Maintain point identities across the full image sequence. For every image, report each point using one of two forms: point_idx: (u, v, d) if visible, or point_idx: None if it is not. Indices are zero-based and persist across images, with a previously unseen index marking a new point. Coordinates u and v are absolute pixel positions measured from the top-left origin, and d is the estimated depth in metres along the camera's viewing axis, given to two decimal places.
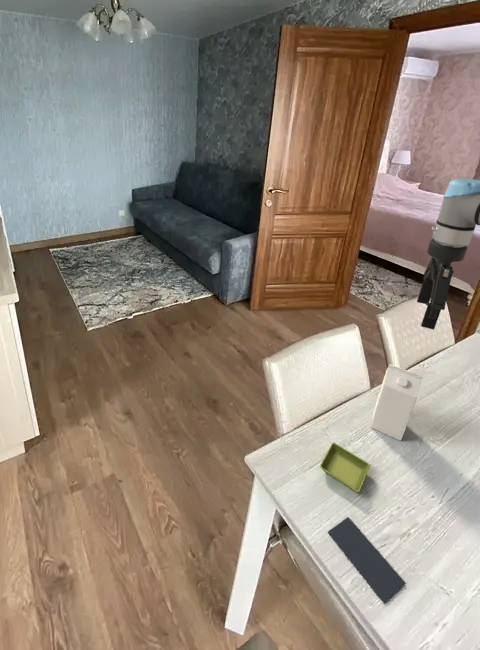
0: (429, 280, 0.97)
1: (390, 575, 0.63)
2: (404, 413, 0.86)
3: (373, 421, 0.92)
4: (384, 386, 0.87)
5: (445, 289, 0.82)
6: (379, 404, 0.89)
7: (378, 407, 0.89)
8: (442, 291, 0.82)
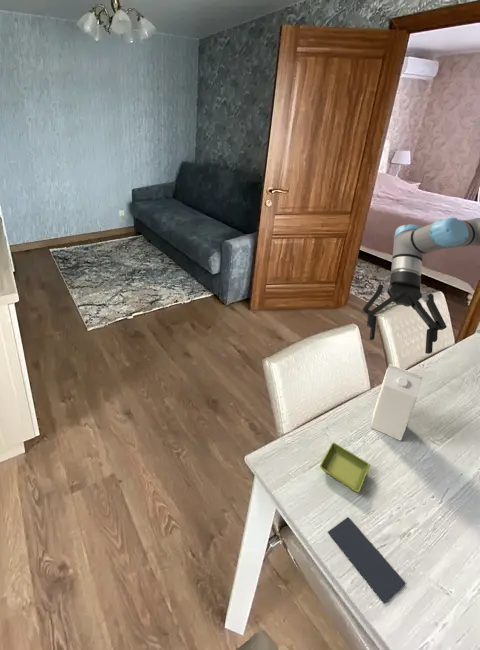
0: (431, 327, 0.95)
1: (390, 575, 0.63)
2: (404, 413, 0.86)
3: (373, 421, 0.92)
4: (384, 386, 0.87)
5: None
6: (379, 404, 0.89)
7: (378, 407, 0.89)
8: (370, 299, 1.02)
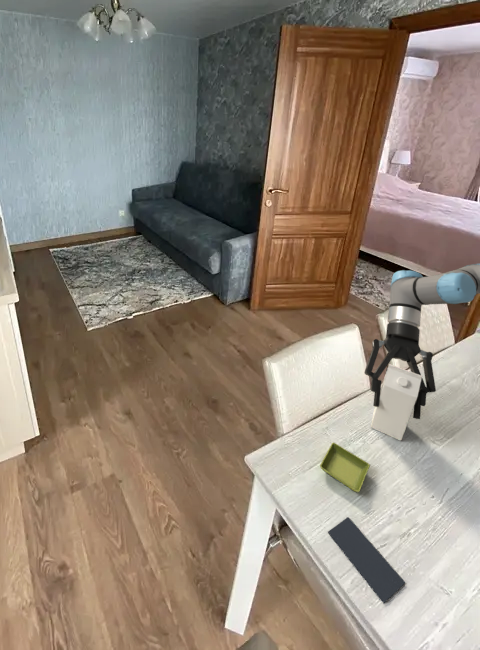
0: (419, 389, 0.88)
1: (390, 575, 0.63)
2: (404, 413, 0.86)
3: (373, 421, 0.92)
4: (384, 386, 0.87)
5: (370, 356, 0.94)
6: (379, 404, 0.89)
7: (378, 407, 0.89)
8: (369, 358, 0.94)
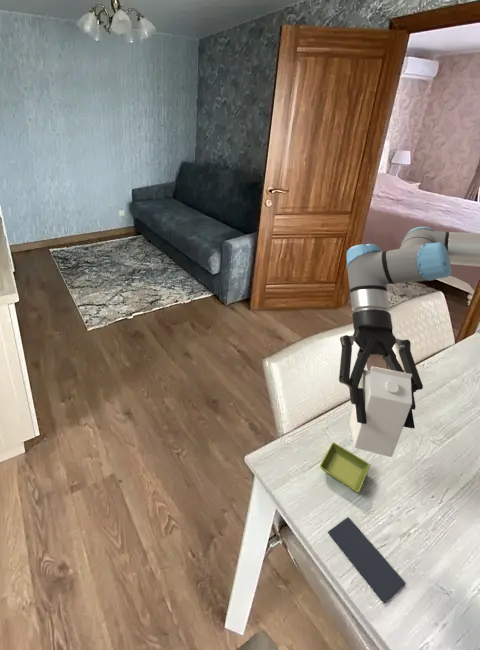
0: None
1: (390, 575, 0.63)
2: (395, 424, 0.68)
3: (357, 440, 0.72)
4: (371, 396, 0.67)
5: (344, 358, 0.73)
6: None
7: None
8: (342, 361, 0.74)
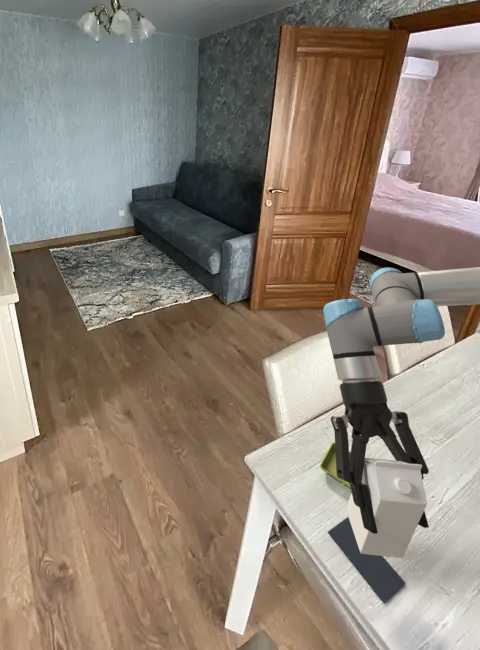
0: None
1: (390, 575, 0.63)
2: (408, 526, 0.56)
3: (364, 546, 0.60)
4: (381, 501, 0.55)
5: (340, 447, 0.61)
6: None
7: None
8: (339, 450, 0.61)
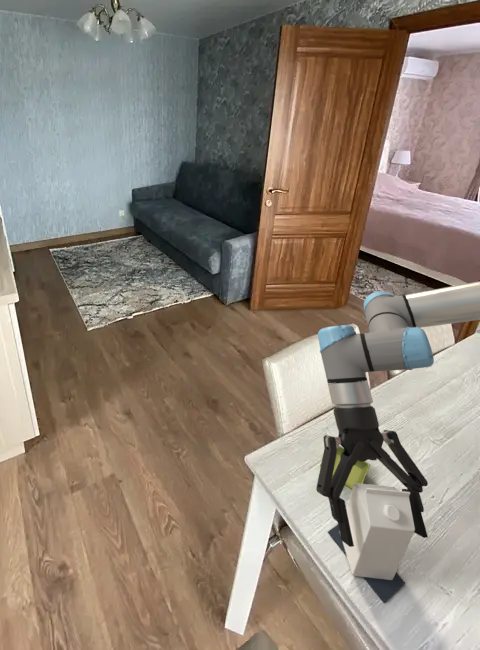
0: (408, 486, 0.64)
1: None
2: (397, 551, 0.59)
3: (356, 568, 0.62)
4: (371, 527, 0.57)
5: (326, 464, 0.63)
6: (364, 549, 0.60)
7: (363, 552, 0.60)
8: (324, 467, 0.64)
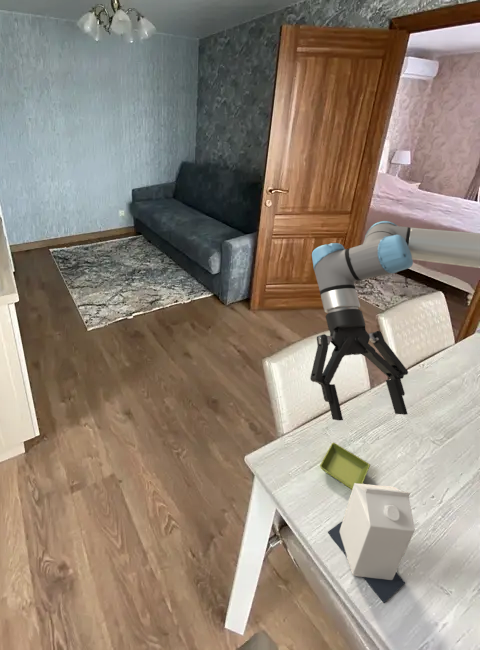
0: (391, 376, 0.72)
1: None
2: (397, 551, 0.59)
3: (356, 568, 0.62)
4: (371, 527, 0.57)
5: (318, 356, 0.72)
6: (364, 549, 0.60)
7: (363, 552, 0.60)
8: (317, 359, 0.72)
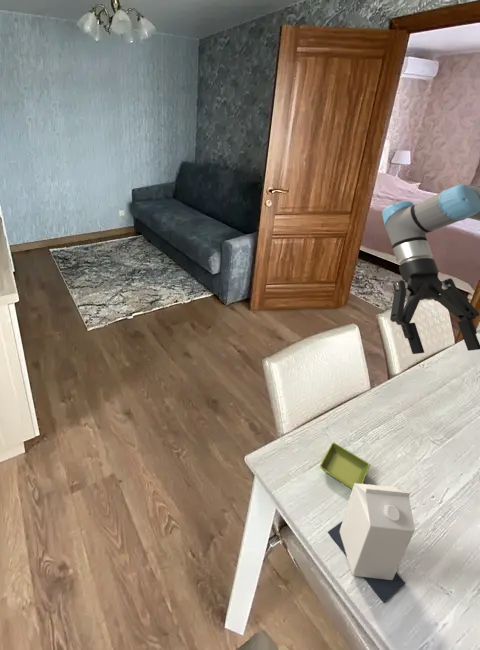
0: (463, 318, 0.80)
1: None
2: (397, 551, 0.59)
3: (356, 568, 0.62)
4: (371, 527, 0.57)
5: (398, 299, 0.80)
6: (364, 549, 0.60)
7: (363, 552, 0.60)
8: (396, 302, 0.80)
